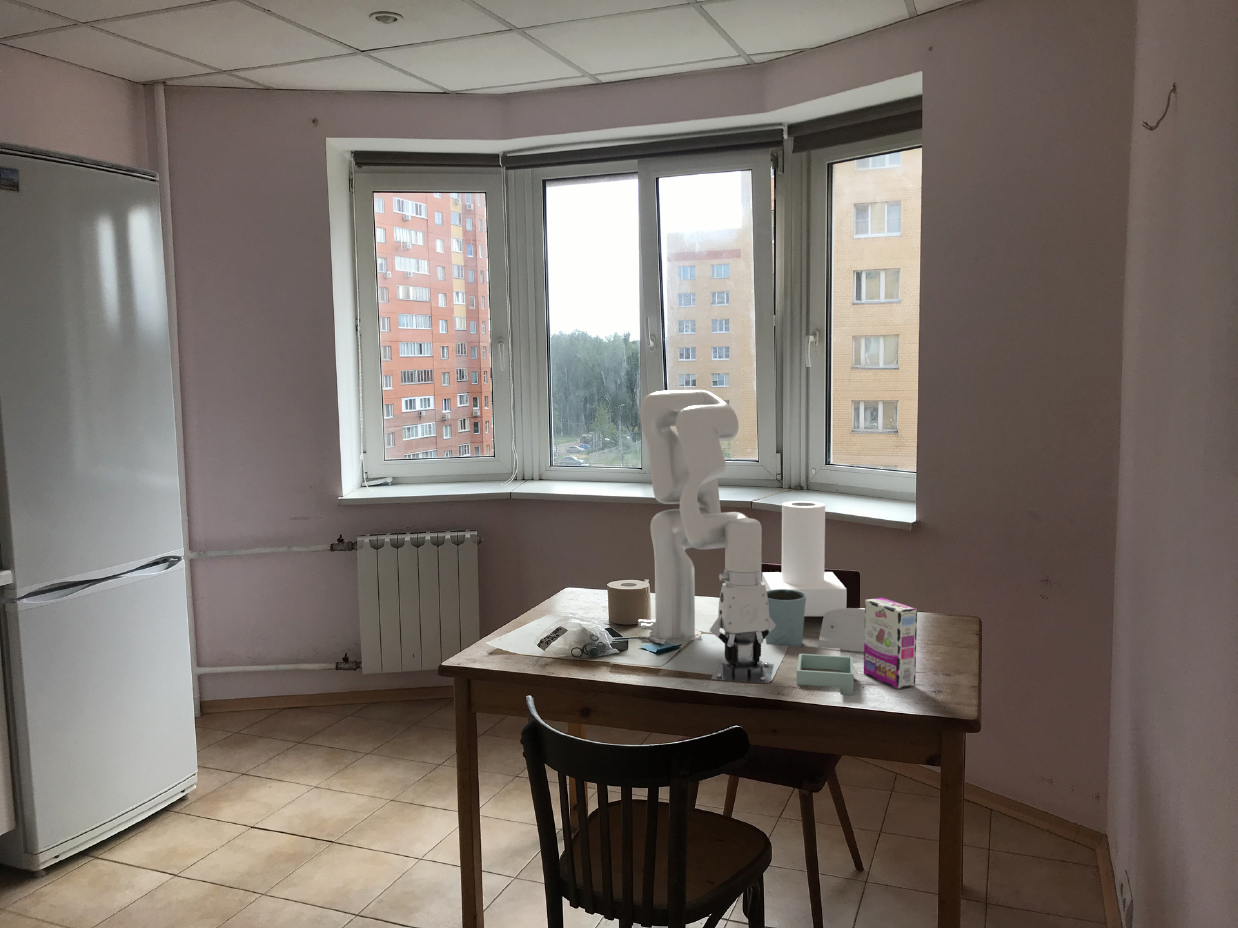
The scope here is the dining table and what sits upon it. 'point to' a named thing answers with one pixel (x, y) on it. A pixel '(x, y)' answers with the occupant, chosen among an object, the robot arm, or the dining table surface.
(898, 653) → the candy bar box
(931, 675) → the dining table surface
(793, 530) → the paper towel holder
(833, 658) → the parts bin
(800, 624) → the teal cup
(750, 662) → the clear and grey cylinder
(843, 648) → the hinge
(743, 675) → the stud mount
